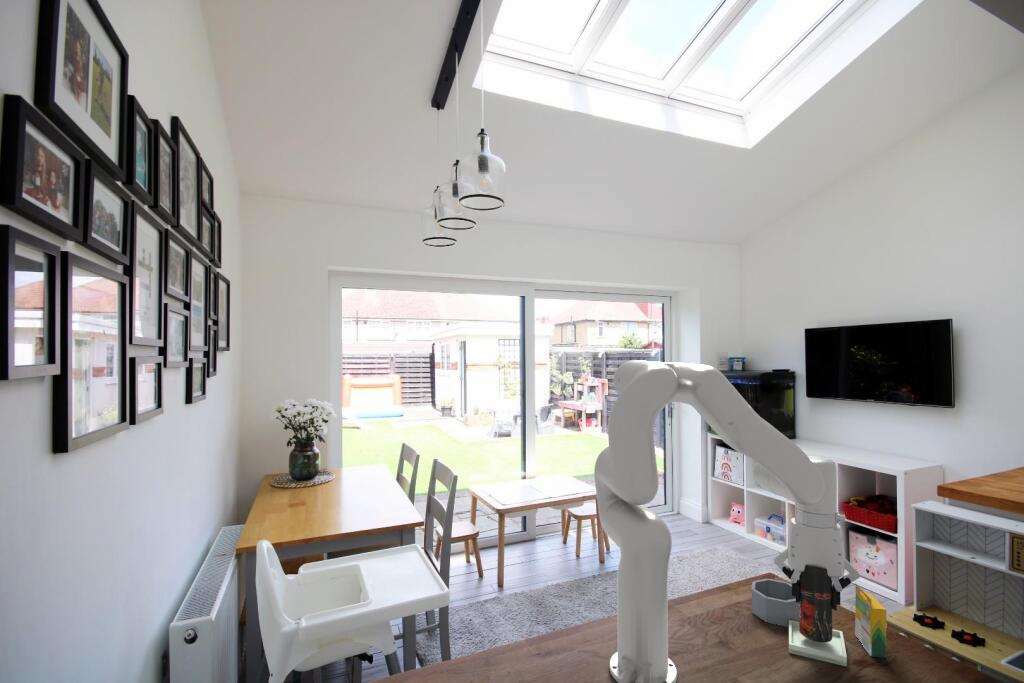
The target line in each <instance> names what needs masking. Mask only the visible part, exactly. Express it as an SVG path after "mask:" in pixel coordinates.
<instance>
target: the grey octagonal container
mask: <svg viewBox="0 0 1024 683" xmlns="http://www.w3.org/2000/svg"><path fill="white" fill-rule="evenodd" d="M751 613H752V614H753V615H755V616H756V617H758V618H759V619H760V620H762V621H763V620H764V622H765V623H767V622H768V624H773V625H776V624H777V626H781V627H785V628H789V620H792V621H796V622H799V602H798V603H796V597H795V596H792V583H790V582H788V581H783V580H777V579H771V578H763V579H757V580H753V581H752V583H751Z"/></svg>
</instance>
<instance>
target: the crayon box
mask: <svg viewBox="0 0 1024 683" xmlns="http://www.w3.org/2000/svg"><path fill="white" fill-rule="evenodd" d="M854 611H855V614H854V615H855V619H854V622H855V623H854V624H855V625H854V627H855V628H854V636H855V635H856V637H857V638H858V639H859V640H858V639H857V638H856V637H855V638H856V639H857V640H858V642H859V641H860V642H861V643H862V644H861V643H860V642H859V643H860V644H861V646H862V645H863V646H862V647H863V648H864V650H865V651H866V652H867V653H868V655H869V656H870V657H873V658H875V657H876V658H887V609H886V608H885V607H884V606H883V605H882V604H881V603H880V602H879V601H878V600H877V598H875V597H874V596H873V594H871V593H870V592H865V591H864V589H862V587H860V585H858V584H857V583H856V582H855V607H854Z"/></svg>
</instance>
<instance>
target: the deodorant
mask: <svg viewBox="0 0 1024 683" xmlns="http://www.w3.org/2000/svg"><path fill="white" fill-rule="evenodd" d="M798 580H799V585H800V603H799V631H800V633H801V634H802V635H803V636H804V637H806V638H807V639H810V640H812V641H816V642H823V643H824V642H830V641H831V640H832V629H833V609H832V586H833V582H832V580H831V577H830V576H828V572H827V569H826V568H820V567H814V566H808V565H805V569H804V571H802V572H801V574H800V576H799V578H798Z"/></svg>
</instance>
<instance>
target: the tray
mask: <svg viewBox="0 0 1024 683" xmlns="http://www.w3.org/2000/svg"><path fill="white" fill-rule="evenodd" d="M788 652H789V654H794V655H797V656H800V657H801V656H802V657H807V658H810V659H813V660H816V661H817V660H818V661H822V662H826V663H830V664H834V665H839V666H842V667H848V655H847V651H846V644H845V639H844V633H843V631H842V630H837V629H833V628H832V640H831V641H830V642H824V643H823V642H816V641H812V640H810V639H807V638H806V637H804V636H803V635H802V634H801V633H800V631H799V622H796V621H792V620H789V627H788Z"/></svg>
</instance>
